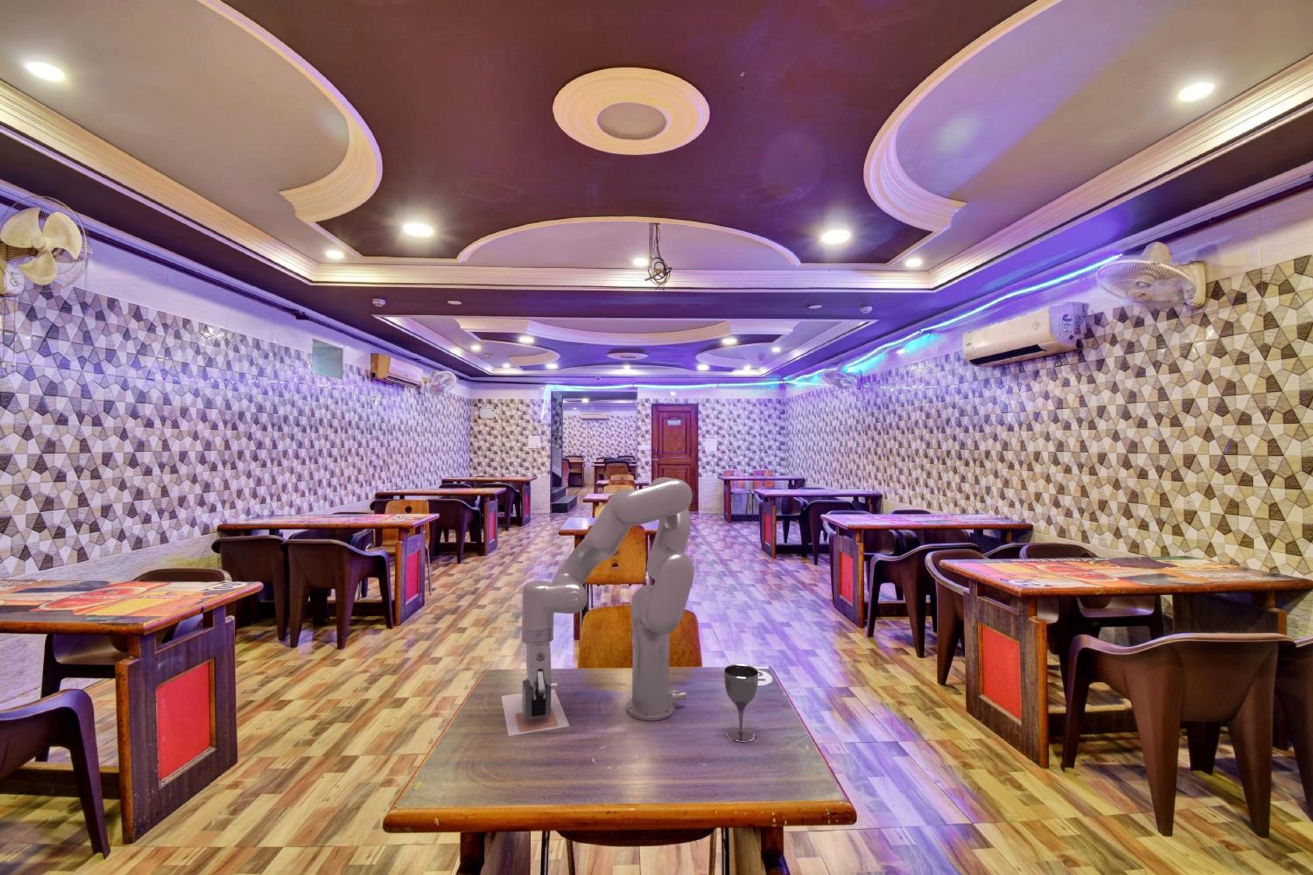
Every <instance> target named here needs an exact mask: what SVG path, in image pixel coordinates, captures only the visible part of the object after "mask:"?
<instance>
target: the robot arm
mask: <svg viewBox="0 0 1313 875" xmlns="http://www.w3.org/2000/svg"><path fill="white" fill-rule="evenodd" d="M692 501H693V492H692V488H691V487H690V485H689V484H688V483H687V482H686V481H684V480H681V479H678V478H671V477H667V476H666V477H665V476H663V477H658V478H656V479H654V480H652V482H651V483H650V485H649V487H645V488H644V487H643V488H640V489H635V490H633V489H628V488H621V489H619V490H616V491H615V492H614V493H613V494H612V495H611V496H610V498H608V501H607V503H606V504H604V507H603V508H602V510H601V512H600V513H599V515H598V517H597V518H596V519H595V521H594V522H593V525H592V526H591V527H590V530H589V531H588V532H587V534H586V535H585V537H584V538H583V539H582V540H581V541H580V542H579V543H578V545H577V546H576V547H575V549H574V550H573V551H572V552H571V553H570V554H569V556H568V557H567V559H565V561H564V563H563V564H562V565H561V568H560V569H559V571H558V572H557V573H556V576H555V577H554V579H553V582H550V581H547V580H534V581H530V582H527V583H525V584H524V585H523V587H522V596H521V597H522V606H521V608H522V609H521V611H522V612H521V617H522V618H521V623H522V624H521V643H523V644H525V645H526V648H525V649H526V652H525V654H526V656H525V657H526V660H525V661H526V662H525V663H526V665H525V666H526V675H527V678H528V679H529V683H530V685H531V686H532V687H533V699H532V716H533V717H534V716H541V715H545V714H546V697H545V681H546V684H547V685H551V684H552V653H551V652H552V651H551V644H550V643H551V642H553V641H554V630H555V629H554V628H555V626H554V624H555V622H554V621H555V619H554V618H555V613H556V614H569V615H570V614H576V613H579V612H581V611H583V609H584V608H585V607H586V604H587V603H588V593H587V590H586V589H585V587H584V586H583V585H584V584H585V582H586V580H587V578H588V577H589V576H590V574H591V573H592V572H593V571H594V569H595V568H596V567H597V566H598V565H600V564H601V563H602V562H604V561H606V560H608V559H610V558H611V557H613V556H614V555H615V554H616V552H617V551H618V548H620V546H621V544H622V542H623V541H624V539H625V538H626V536H627V535H628V533H629V531H630V529H631V528H632V526H633V527H634V526H641V525H644V524H648V523H649V524H650V523H652V522H655V521H658V524H657V529H656V533H655V537H654V540H653V543H652V546H651V549H650V552H649V556H648V558H647V561H646V571H647V573H648V575H649V576H650V577H651V579H653V580H654V583H653V584H646V585H642V586H640V587H639V588H638V589H637V590H635V592H634V593H633V596H632V598H631V600H630V601H631V602H630V615H631V616H630V617H631V625H632V627H631V628H632V671H631V672H632V681H631V682H632V684H631V686H632V687H631V690H632V691H631V698H630V699H629V700H628V701H627V702H626V705H625V710H626V711H625V712H626V713H627V714H628V715H629V716H630V717H633V718H634V719H638V720H640V721H641V720H643V721H661V720H664V719H666V718H668V717H671V716H672V715H673V714H674V713H675V712H676V711H675V710H676V706H675V703H676V701H684V700H687V697H688V695H687V692H686V691H679V689H672V690H670V633H672V632H673V631H674V630H676V629H677V627H678V626H679V624H680V623H681V621H682V618H683V615H684V612H685V609H686V605H687V602H688V599H689V596H690V594H691V589H692V586H693V582H694V577H695V572H694V571H695V570H694V564H693V561H692V560H691V558H690V557H689V556H688V555H687V554H686V553H685V552H686V548H687V545H688V544H687V543H688V541H689V536H690V533H691V520H692V519H691V515H690V511H689V507H690V505H691V503H692ZM536 682H538V685H535V683H536ZM536 688H538V690H537V691H536Z"/></svg>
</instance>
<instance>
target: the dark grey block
mask: <svg viewBox="0 0 1313 875" xmlns="http://www.w3.org/2000/svg"><path fill="white" fill-rule="evenodd" d="M535 685H538V682H536V683H535ZM551 689H552V686H551V684H550V685H547V684H546V681H545V697H546V714H545V715H541V716H534V717H533V716H532V699H533V687H532V686H531V685H530V683H529V680H522V691H521V693H522V710H523V714H524V717H525V720H527V719H534V718H540V717H547V716H551ZM537 690H538V688H536V691H537Z"/></svg>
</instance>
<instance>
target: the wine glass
mask: <svg viewBox="0 0 1313 875" xmlns="http://www.w3.org/2000/svg"><path fill="white" fill-rule="evenodd" d="M723 671H724V674H723V677H724V682H723V683H724V688H725V692H726V695H727V697H728V698H729V699H730V701H731V702H732V703H733V704H734V705H735V707H736V710H737V712H738V721H739V723H738V727H739V728H736V727H731V728H732V729H731V728H728V729H727V730H726V732H727V731H728V732H727V734H728V736H729V737H730V738H731V739H733V741H732V742H734V741H749V739H752V738H753V732H754V731H753V732H751V731H752V730H751V729H749V728H746V727H743V720H744V712H745V710H746V707H747V706H748V705H749V704H751V702H752V701H753V700H754V699H755V698H756V694H757V691H758V684H759V671H758V669H757V668H756V667H754V666H752V665H747V664H740V663H738V664H729V665H727V666H725V668H724V669H723ZM745 728H746V729H745ZM748 729H749V730H748ZM750 730H751V731H750Z"/></svg>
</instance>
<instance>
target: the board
mask: <svg viewBox="0 0 1313 875" xmlns="http://www.w3.org/2000/svg"><path fill="white" fill-rule="evenodd" d="M501 701H502V707H503V712H504V714H503V715H504V719H505V724H506V730H507V736H508V737H511V736H517V735H518V736H519V735H523V734H525V735H526V734H530V733H537V732H543V731H548V730H549V731H550V730H556V729H562V728H563V729H564V728H568V727H570V724H569V721H568V719H567V717H566V715H565V712H564V710H563V707H562V705H561V702H560V699H559V697H558V695H557V692H556V690H555V688H551V716H547V717H540V718H534V719H527V720H525V717H524V714H523V710H522V692H521V693H513V694H512V693H511V694H506V695H505V694H504V695H501Z"/></svg>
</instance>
